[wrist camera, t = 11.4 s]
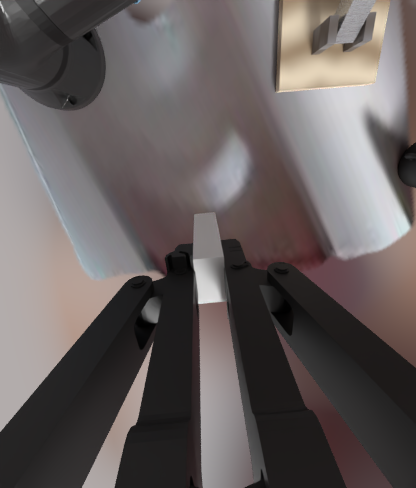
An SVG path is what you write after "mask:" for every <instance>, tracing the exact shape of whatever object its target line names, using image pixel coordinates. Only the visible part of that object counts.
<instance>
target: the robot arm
mask: <svg viewBox="0 0 416 488" xmlns="http://www.w3.org/2000/svg"><path fill="white" fill-rule="evenodd" d="M139 2H140V0H0V83H3V84H7V85H11V86H15V87H18V88H20V89H21V90H22V91H23V92H25V93H26V94H27V95H28V96H29V97H31V98H32V99H34V100H35V101H37V102H39V103H41V104H43V105H45V106H48V107H51V108H55V109H60V110H77V109H81V108H83V107H85V106H87V105H89V104H90V103H91V102H92V101H93V100H94V99H95V98H96V97H97V96H98V94H99V92H100V91H101V88H102V86H103V83H104V79H105V70H106V65H105V56H104V51H103V47H102V44H101V41H100V39H99V36H98V34H97V32H96V30H95V27H97V26H98V25H100V24H101V23H103V22H105V21H106V20H108V19H109V18H111V17H112V16H114V15H116V14H117V13H119V12H120V11H122V10H123V9H125V8H127V7H128V6H130V5H131V4H133V3H134V4H137V3H139ZM165 262H166V267H167V276H166V277H164V278H162V279H159V280H156V281H153V282H152V279H151V278H150V277H149V276H137V277H133V278H131V279H129V280H128V281H127V282H126V283H125V284H124V285H123V286H122V288H121V289H120V290H119V291H118V292H117V294H116V295H115V296H114V297H113V298H112V300H111V301H110V302H109V303H108V304H107V306H106V307H105V308H104V309H103V310H102V311H101V313H100V314H99V315H98V316H97V317H96V319H95V320H94V321H93V322H92V323H91V325H90V326H89V327H88V328H87V329H86V331H85V332H84V333H83V334H82V335H81V337H80V338H79V339H78V340H77V341H76V342H75V344H74V345H73V346H72V347H71V349H70V350H69V351H68V352H67V353H66V354H65V356H64V357H63V358H62V359H61V361H60V362H59V363H58V364H57V365H56V366H55V368H54V369H53V370H52V371H51V372H50V374H49V375H48V376H47V377H46V378H45V380H44V381H43V382H42V383H41V384H40V385H39V387H38V388H37V389H36V390H35V391H34V393H33V394H32V395H31V396H30V398H29V399H28V400H27V401H26V402H25V403H24V405H23V406H22V407H21V408H20V410H19V411H18V412H17V413H16V414H15V415H14V417H13V418H12V419H11V420H10V421H9V423H8V424H7V425H6V426H5V427H4V429H3V430H2V431H1V432H0V488H82V486H83V484H84V482H85V480H86V478H87V476H88V474H89V472H90V470H91V468H92V465H93V464H94V462H95V459H96V457H97V455H98V453H99V451H100V449H101V447H102V445H103V443H104V441H105V439H106V437H107V435H108V433H109V431H110V429H111V427H112V425H113V423H114V421H115V419H116V417H117V414H118V412H119V410H120V408H121V406H122V404H123V402H124V400H125V398H126V396H127V394H128V392H129V390H130V388H131V386H132V384H133V382H134V380H135V378H136V376H137V374H138V372H139V370H140V368H141V366H142V363H143V361H144V359H145V357H146V355H147V353H148V351H149V349H150V347H151V345H152V343H153V347H152V353H151V357H150V362H149V367H148V372H147V377H146V382H145V388H144V392H143V397H142V402H141V407H140V412H139V417H138V420H137V423H136V425H134V426H132V427H131V428H130V430H129V432H128V434H127V437H126V441H125V444H124V449H123V454H122V458H121V462H120V466H119V471H118V475H117V479H116V484H115V488H203V486H202V473H201V416H200V347H199V346H200V339H199V306H198V304H201V303H213V302H223V301H227V315H228V319H229V323H230V329H231V336H232V342H233V348H234V353H235V354H234V355H235V360H236V367H237V373H238V379H239V386H240V392H241V399H242V405H243V411H244V417H245V424H246V430H247V436H248V442H249V449H250V455H251V461H252V469H253V479H254V483H253V484H251V485H249V486H247V487H245V488H346V485H345V483H344V480H343V478H342V475H341V473H340V471H339V468H338V466H337V464H336V461H335V459H334V456H333V453H332V451H331V449H330V446H329V444H328V441H327V439H326V436H325V434H324V432H323V429H322V427H321V424H320V422H319V420H318V418H317V416H316V415H315V414H314V412H313V411H312V410H309V409H307V407H306V406H305V404H304V402H303V399H302V397H301V394H300V391H299V389H298V386H297V384H296V381H295V378H294V376H293V373H292V371H291V368H290V365H289V363H288V360H287V358H286V355H285V352H284V350H283V347H282V344H281V342H280V339H279V336H278V334H277V331H276V329H275V327H276V328H277V329H278V331H279V332H280V333H281V335H282V336H283V337H284V339H285V340H286V342H287V343H288V344H289V346H290V347H291V348H292V350H293V351H294V353H295V354H296V355H297V357H298V358H299V359H300V361H301V362H302V363H303V365H304V366H305V368H306V369H307V370H308V372H309V373H310V374H311V376H312V377H313V379H314V380H315V381H316V383H317V384H318V385H319V387H320V388H321V390H322V391H323V392H324V393H325V395H326V396H327V398H328V399H329V400H330V402H331V403H332V405H333V406H334V407H335V409H336V410H337V411H338V413H339V414H340V415H341V417H342V418H343V419H344V421H345V422H346V424H347V425H348V426H349V428H350V429H351V431H352V432H353V433H354V435H355V436H356V437H357V439H358V440H359V442H360V443H361V444H362V446H363V447H364V448H365V450H366V451H367V452H368V454H369V455H370V457H371V458H372V459H373V461H374V462H375V463H376V465H377V466H378V467H379V469H380V470H381V472H382V473H383V474H384V476H385V477H386V478H387V480H388V481H389V482H390V484H391V485H392V487H393V488H416V368H415V367H414V366H413V365H411V364H410V363H409V362H408V361H407V360H406V359H404V358H403V357H402V356H401V355H400V354H398V353H397V352H396V351H395V350H394V349H392V348H391V347H390V346H389V345H387V344H386V343H385V342H384V341H383V340H382V339H380V338H379V337H378V336H377V335H376V334H374V333H373V332H372V331H371V330H370V329H368V328H367V327H366V326H365V325H363V324H362V323H361V322H360V321H359V320H358V319H356V318H355V317H354V316H353V315H352V314H350V313H349V312H348V311H347V310H346V309H344V308H343V307H342V306H341V305H340V304H338V303H337V302H336V301H335V300H334V299H333V298H331V297H330V296H329V295H328V294H326V293H325V292H324V291H323V290H322V289H321V288H319V287H318V286H317V285H316V284H314V283H313V282H312V281H311V280H310V279H308V278H307V277H306V276H305V275H304V274H303V273H301V272H300V271H299V270H298V269H297V268H295V267H294V266H293V265H291V264H288V263H285V262H276V263H272V264H270V265H269V266H268V269H267V270H260V269H256V268H253V267H252V266H251V264H250V263H249V262H248V261H246V258H245V255H244V253H243V250H242V247H241V245H240V242H239V241H237V240H236V239H228V240H220V235H219V230H218V225H217V220H216V215H215V212H214V213H203V214H194V240H193V243H192V244H181V245H178V246H177V247H176V248H175V251H173V252H171V253H169V254H168V255H166V257H165ZM226 299H227V300H226ZM274 325H275V326H274ZM153 341H154V342H153Z"/></svg>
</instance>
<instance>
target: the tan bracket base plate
mask: <svg viewBox="0 0 416 488" xmlns="http://www.w3.org/2000/svg"><path fill="white" fill-rule="evenodd" d="M340 1H341V0H279V22H278V48H277V73H276V93H277V92H290V91H302V90H314V89H327V88H339V87H351V86H363V85H370V84H373V83H375V80H376V75H377V69H378V64H379V59H380V53H381V48H382V42H383V37H384V32H385V26H386V21H387V15H388V10H389V4H390V0H376V2H375V4H374V6H373V7H372V9H371V11H370V13H369V15H368V17H367V18H366V20H365V22H364V24H363V26H362V28H361V29H360V31H359V33H358V35H357V37H356V38H355V40H354V42H353V43H342V44H335V43H336V38H337V30H338V22H339V15H335V13H336V10H337V8H338V6H339V3H340Z"/></svg>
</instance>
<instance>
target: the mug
mask: <svg viewBox="0 0 416 488" xmlns="http://www.w3.org/2000/svg"><path fill="white" fill-rule="evenodd" d="M398 172H399V177H400V179H401V180H402V182H403V183H404V184H406V185H408V186H410V187H414V188H416V143H414V144H413V145H412V146H411V147H409V148H408V149H407V151H406V152H405V153H404V155H403V156H402V158H401V161H400V164H399V169H398Z"/></svg>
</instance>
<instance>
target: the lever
mask: <svg viewBox="0 0 416 488" xmlns="http://www.w3.org/2000/svg"><path fill="white" fill-rule="evenodd" d="M375 2H376V0H341V1H340V3H339V6H338V8H337V10H336V13H335V15H339V22H338V30H337V38H336V43H335V44H342V43H353V42H354V40H355V38H356V37H357V35H358V33H359V31H360V29H361V28H362V26H363V24H364V22H365V20H366V18H367V17H368V15H369V13H370V11H371V9H372V7H373V6H374V4H375Z"/></svg>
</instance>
